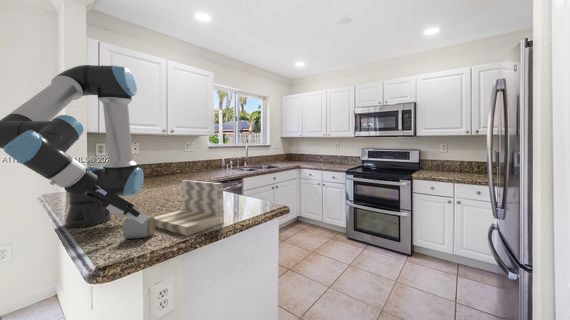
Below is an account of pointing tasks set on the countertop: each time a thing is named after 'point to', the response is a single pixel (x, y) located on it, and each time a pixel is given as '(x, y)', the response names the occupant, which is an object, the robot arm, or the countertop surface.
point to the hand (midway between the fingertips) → (134, 217)
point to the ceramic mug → (139, 228)
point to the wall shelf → (195, 209)
